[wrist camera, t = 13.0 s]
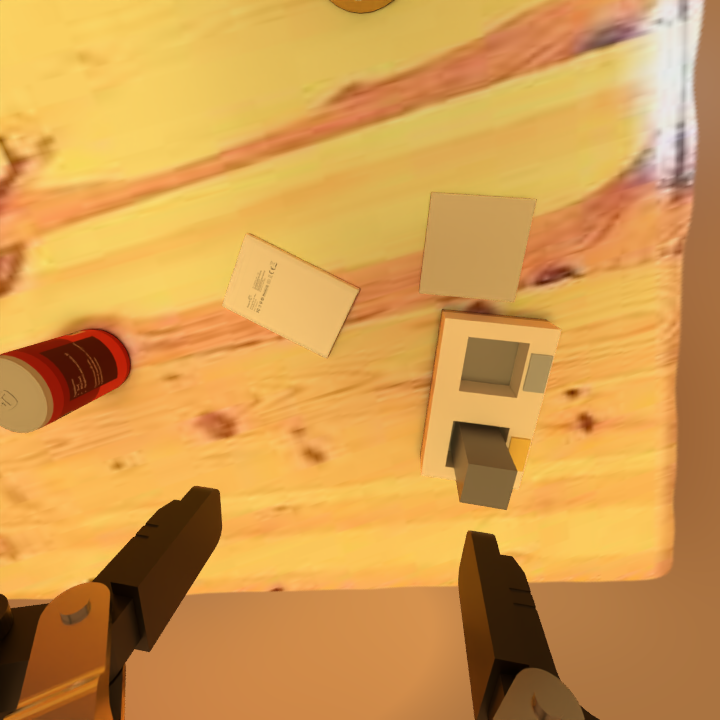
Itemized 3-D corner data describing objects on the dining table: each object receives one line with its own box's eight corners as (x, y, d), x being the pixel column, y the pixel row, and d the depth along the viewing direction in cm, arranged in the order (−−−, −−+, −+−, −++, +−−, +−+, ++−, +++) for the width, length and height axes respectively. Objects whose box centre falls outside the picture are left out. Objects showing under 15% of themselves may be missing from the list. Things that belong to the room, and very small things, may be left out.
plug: (456, 413, 39) (468, 463, 31) (495, 419, 39) (517, 471, 30) (450, 446, 41) (459, 501, 32) (487, 451, 40) (506, 510, 32)
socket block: (442, 309, 37) (445, 318, 33) (546, 319, 36) (562, 330, 32) (420, 454, 43) (421, 477, 39) (509, 466, 41) (519, 491, 37)
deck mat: (431, 193, 33) (431, 192, 33) (533, 199, 33) (536, 199, 32) (418, 291, 37) (418, 293, 36) (512, 300, 36) (514, 302, 35)
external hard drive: (329, 354, 41) (227, 304, 40) (361, 288, 38) (251, 232, 38) (326, 359, 39) (220, 307, 39) (358, 290, 36) (245, 232, 36)
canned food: (66, 367, 45) (-36, 406, 35) (83, 314, 43) (-22, 340, 32) (120, 400, 46) (36, 448, 36) (141, 349, 43) (55, 386, 33)
